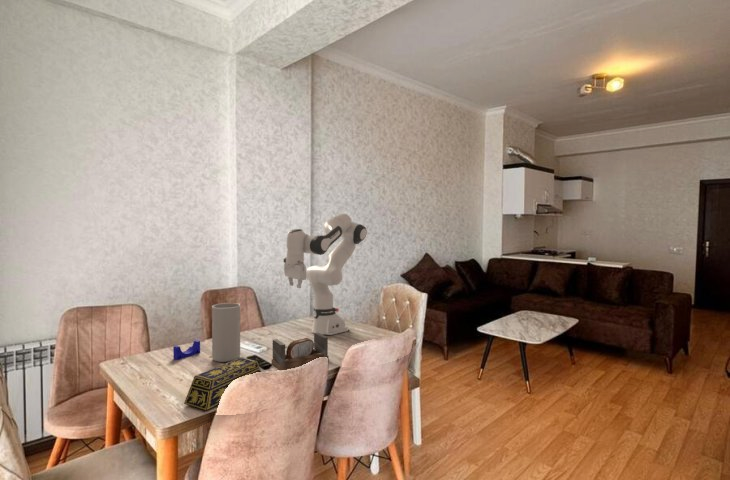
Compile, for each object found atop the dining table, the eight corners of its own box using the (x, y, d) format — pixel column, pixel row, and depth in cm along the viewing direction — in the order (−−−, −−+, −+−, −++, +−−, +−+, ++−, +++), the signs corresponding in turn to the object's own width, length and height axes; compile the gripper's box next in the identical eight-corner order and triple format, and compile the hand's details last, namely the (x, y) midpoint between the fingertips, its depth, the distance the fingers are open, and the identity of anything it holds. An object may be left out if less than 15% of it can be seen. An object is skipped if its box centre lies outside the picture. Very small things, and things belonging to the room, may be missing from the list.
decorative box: (183, 403, 137) (183, 378, 137) (245, 375, 164) (245, 354, 163) (205, 410, 132) (205, 384, 132) (265, 380, 159) (265, 358, 159)
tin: (310, 353, 186) (310, 335, 186) (315, 354, 184) (315, 337, 184) (285, 361, 174) (285, 342, 174) (290, 362, 172) (290, 344, 172)
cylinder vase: (231, 363, 177) (231, 308, 176) (206, 361, 179) (206, 307, 178) (245, 354, 189) (245, 303, 188) (221, 352, 191) (221, 302, 190)
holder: (318, 354, 190) (318, 332, 190) (328, 360, 182) (328, 337, 182) (271, 363, 177) (271, 339, 176) (279, 370, 168) (280, 345, 168)
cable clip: (194, 351, 193) (194, 339, 193) (200, 353, 191) (200, 341, 191) (171, 358, 183) (171, 345, 183) (177, 360, 181) (177, 347, 181)
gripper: (309, 261, 195) (309, 289, 196) (292, 258, 212) (292, 283, 213) (298, 262, 192) (297, 290, 192) (282, 259, 209) (281, 284, 209)
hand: (295, 286), depth 203 cm, fingers open, 8 cm apart
